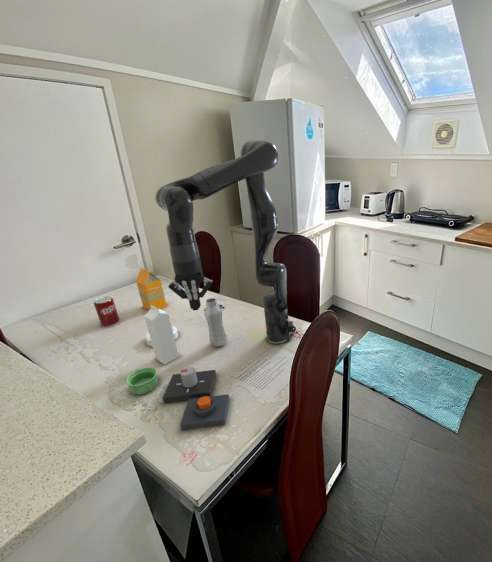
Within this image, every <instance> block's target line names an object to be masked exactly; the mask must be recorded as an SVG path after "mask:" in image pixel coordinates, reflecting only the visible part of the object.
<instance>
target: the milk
mask: <svg viewBox="0 0 492 562" xmlns="http://www.w3.org/2000/svg"><path fill="white" fill-rule="evenodd" d="M150 306H151V309H150V310H147V312H146V313H145V314H144V315H143V317H144V321H145V324H146V327H147V333H148V332H149V335H150V339H151V342H152V346H153V347H152V349H153V352H154V356H155V359H156V360H157V361H159V362H160V363H162V365H167V364H169V363H170V362H172V361H174V360H176V359H178V358H180V354H179V351H178V350H179V349H178V346H177V342H176V339H175V337H174V333H173V329H172V326H173V325H172V321H171V318H170V314H169V313H168V312H166V311H164V310H163V309H157V308H155V307H154V306H152V305H150Z"/></svg>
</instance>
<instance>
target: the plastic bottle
mask: <svg viewBox="0 0 492 562" xmlns="http://www.w3.org/2000/svg"><path fill="white" fill-rule="evenodd" d="M205 306H206V308H205V309H204V313H203V315H204V317H205V320H206V323H207V327H208V334H209V335H208V337H209V343H210V345H211V346H213V347H222V346H225V344H226V343H227V341H228V336H227V333H226V332H225V331H226V330H225V328H224V324H223V323H224V322H223V311H222V309H221V307H220V306H219V305H218V302H217V298H214V297H210V298H207V299H206V300H205Z"/></svg>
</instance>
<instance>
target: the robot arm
mask: <svg viewBox="0 0 492 562" xmlns="http://www.w3.org/2000/svg"><path fill="white" fill-rule="evenodd" d="M278 161H279V152H278V149H277V147H276V146H275V145H274V144H273V143H272V142H270V141H268V140H248V141H246V142H244V143H243V145H242V146H241V150H240V156H239V157H236V158H234V159H231V160H228V161H224V162H221V163H217V164H214V165H211V166H209V167H205V168H204V169H201V170H199V171H198V172H195V173H194V174H191V175H190V176H188V177H184V178H181V179H178V180H175V181H171V182H168V183H166V184H164V185H162V186H160V187H159V188H158V189H157V190H156V192H155V197H154V200H155V202H156V205H157V206H158V207H159V208H160V209H162V210H163V211H166V212H167V215H168V223H166V226H165V230H166V235H167V241H168V246H169V255H170V257H171V262H172V267H173V272H174V280H172V281H171V282H170V283H169V284H168V289H170V290H171V291H172V292H173V293H175V294H176V295H177V296H179V297H180V299H182V300H188V303H189V307H190V310H192V311H199V309H200V308H201V305H202V304H201V299H202V298H204V296H205V295H206V293H207V292H208V291H209V289H210V287H211V286H212V284H213V282H214V281H213V279H212V278H207V277H206V275H205V273H203V268H202V262H201V258H200V251H199V247H198V243H197V241H196V236H195V235H196V234H195V230H194V202H193V201H197V200H204V199H208V198H209V197H211V196H213V195H215V194H217V193H218V192H220V191H222V190H224V189H226V188H228V187H230V186H232V185H234V184H236V183H238V182H240V181H243V180H245V184H246V191H247V198H248V199H247V200H248V204H249V215H250V223H251V230H252V236H253V246H254V265H255V266H254V268H255V278H256V279H255V280H256V282H257V284H258V285H259V286H262V287H268V288H269V287H271V288H274V289H273V290H269V291H267V292H265V293H264V294H263V296H262V301H263V302H262V303H263V311H264V312H263V313H264V320H265V333H266V341H267V342H268V343H269V344H272V345H281V344H285V343H286V342H290V340H291V338H290V337H291V336H290V335H291V334H290V333H292V334H294V333H295V332H296V330H297V327H296V326H294V321H293V320H291V321H290V320H289V312H288V275H287V272H288V271H287V267H286V265H285V264H284V263H281V262H269V261H268V252H269V248H270V246H271V244H272V242H273V241H274V239H275V237H276V235H277V234H278V233H277V232H278V229H279V224H278V223H279V221H278V220H279V219H278V211H277V207H276V205H275V203H274V200H273V198H272V197H271V194H270V193H269V190H268V188H267V185H266V180H265V179H266V178H265V173H266V172H269V171H272V170H273V169H274V168H275V167H276V166H277V164H278ZM202 284H203V287H202V289H201V291H200V287H201V285H202ZM200 298H201V299H200Z"/></svg>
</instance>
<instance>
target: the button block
mask: <svg viewBox="0 0 492 562" xmlns="http://www.w3.org/2000/svg"><path fill="white" fill-rule="evenodd" d="M208 397H210V400H211V406H210V407H209V408H207V409H205V410H201V409H199V408H198V403H197V402H198V400H199V399H200V398H194V399H189V400H188V401H187V403H186V406H185V409H184V412H183V415H182V418H181V422H180V424H179V426H180V431H191V430H196V429H197V430H198V429H204V428H212V427H220V426H225V425H226V422H227V416H228V410H229V405H230V395H229V394H227V393H226V394H220V395H211V396H208Z"/></svg>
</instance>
